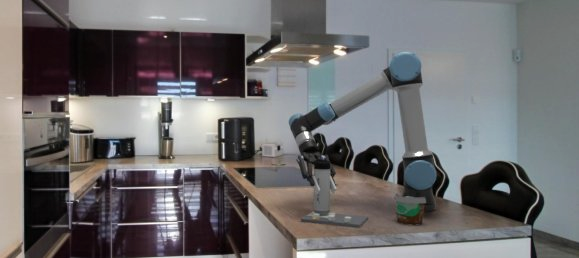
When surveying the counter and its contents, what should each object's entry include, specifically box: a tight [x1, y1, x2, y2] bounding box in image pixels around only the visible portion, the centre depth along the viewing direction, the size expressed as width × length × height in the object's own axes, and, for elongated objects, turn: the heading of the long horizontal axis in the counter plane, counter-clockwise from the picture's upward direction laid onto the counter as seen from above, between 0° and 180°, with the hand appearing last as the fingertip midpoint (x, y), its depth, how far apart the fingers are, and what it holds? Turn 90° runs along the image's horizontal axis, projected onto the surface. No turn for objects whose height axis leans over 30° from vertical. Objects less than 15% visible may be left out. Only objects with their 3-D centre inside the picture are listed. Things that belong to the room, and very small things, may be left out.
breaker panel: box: [300, 211, 369, 228], centre depth 161 cm, size 22×14×2 cm, turn 68°
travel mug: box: [312, 159, 331, 214], centre depth 165 cm, size 6×7×20 cm
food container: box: [393, 192, 426, 226], centre depth 158 cm, size 12×6×10 cm, turn 45°
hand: (326, 191), depth 162 cm, fingers closed on travel mug, 6 cm apart
